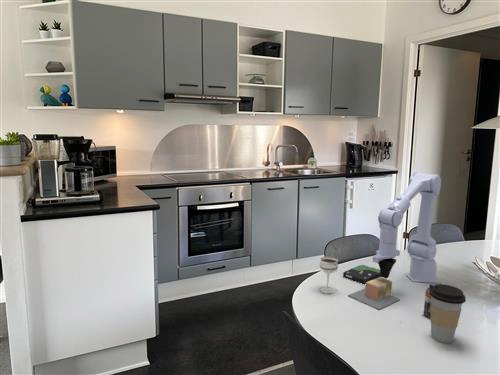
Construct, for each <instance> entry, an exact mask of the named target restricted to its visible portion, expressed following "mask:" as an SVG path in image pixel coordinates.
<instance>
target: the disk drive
mask: <svg viewBox="0 0 500 375" xmlns="http://www.w3.org/2000/svg"><path fill="white" fill-rule="evenodd" d="M344 277H345V278H344ZM379 277H381V272H380V268H375V267H371V266H367V265H365V264H360V265H358V266H355V267H353V268H350V269H348V270H346V271H343V273H342V278H344V279H347V278H348V279H347V280H349V279H350V281H352V280H353V282H355V281H356V283H358V282H359V283H358V284H360V283H362V284H361V285H363V284H364V286H366V285H365V284H366V282H368V281H371V280H374V279H376V278H379ZM381 278H382V277H381Z"/></svg>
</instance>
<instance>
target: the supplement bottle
mask: <svg viewBox="0 0 500 375" xmlns="http://www.w3.org/2000/svg"><path fill="white" fill-rule="evenodd" d="M438 284H442V282H438V281H436V282H429V287H427V288H425V294H424V295H425V297H424V306H423V315H424V316H425V317H426V318H428V319H430V320H431V295H430V294H429V292H430V289H432V288H433V286H434V285H438Z"/></svg>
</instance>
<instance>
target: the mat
mask: <svg viewBox="0 0 500 375" xmlns="http://www.w3.org/2000/svg"><path fill="white" fill-rule="evenodd" d="M347 297H349V298H351V299H354V300H355V301H357V302H360V303H363V304H364V305H366V306H369V307H371V308H373V309H375V310H378V311H381V310H383V309H385V308H387V307H389V306H391V305H393V304H395V303H397V302H400V301H401V298H399V297H395V296H393V295H388V296H386V297H384V298H381V299H379V300H377V301H376V300H374V299H372V298H369V297H367V296H365V287H364V288H362V289H359V290H357V291H355V292H352V293H350V294H347Z"/></svg>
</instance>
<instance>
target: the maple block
mask: <svg viewBox="0 0 500 375" xmlns="http://www.w3.org/2000/svg"><path fill="white" fill-rule="evenodd" d="M392 286H393V281H392V280H389V279H388V278H383V277H379V278H376V279H374V280H371V281H368V282H366V285H364V288H365V296H367V297H369V298H372V299H374V300H376V301H377V300H379V299H381V298H384V297H386V296H388V295H391V294H392V289H393V288H392ZM391 296H392V295H391Z"/></svg>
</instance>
